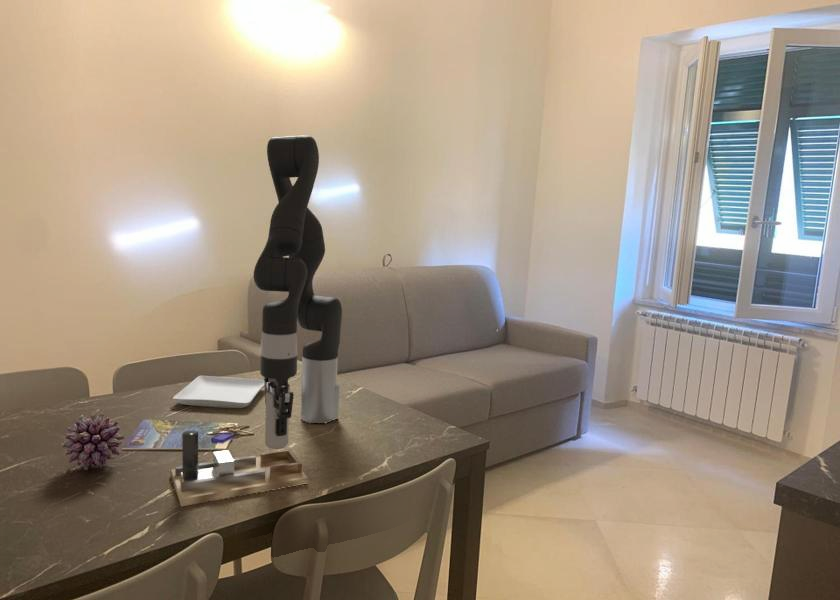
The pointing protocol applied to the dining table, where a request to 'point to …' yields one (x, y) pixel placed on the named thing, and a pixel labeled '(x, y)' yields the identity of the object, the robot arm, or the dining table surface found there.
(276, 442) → the beverage can
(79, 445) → the flower
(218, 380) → the salad plate
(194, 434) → the press block
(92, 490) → the dining table surface
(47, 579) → the dining table surface
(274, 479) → the wooden tray
